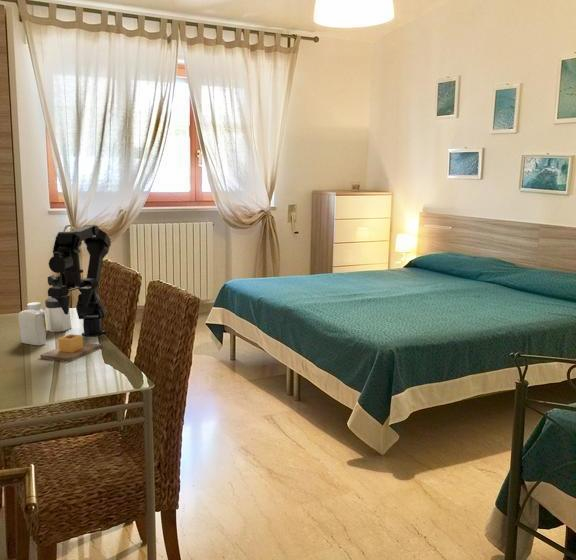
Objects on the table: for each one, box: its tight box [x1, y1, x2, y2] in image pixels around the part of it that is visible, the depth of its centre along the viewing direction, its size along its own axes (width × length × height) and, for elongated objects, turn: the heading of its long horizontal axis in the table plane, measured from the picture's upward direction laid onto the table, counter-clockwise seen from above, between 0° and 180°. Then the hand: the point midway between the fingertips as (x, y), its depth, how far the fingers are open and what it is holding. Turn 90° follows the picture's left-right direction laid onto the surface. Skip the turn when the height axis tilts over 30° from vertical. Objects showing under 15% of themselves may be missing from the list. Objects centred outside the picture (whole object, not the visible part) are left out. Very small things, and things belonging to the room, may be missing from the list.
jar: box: [44, 297, 72, 333], centre depth 235 cm, size 9×8×12 cm
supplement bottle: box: [26, 301, 48, 336], centre depth 226 cm, size 7×7×13 cm
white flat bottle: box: [17, 309, 47, 346], centre depth 218 cm, size 10×4×12 cm, turn 60°
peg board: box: [39, 334, 103, 363], centre depth 205 cm, size 16×12×6 cm
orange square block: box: [57, 333, 84, 352], centre depth 205 cm, size 5×5×4 cm
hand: (75, 311), depth 214 cm, fingers open, 9 cm apart
